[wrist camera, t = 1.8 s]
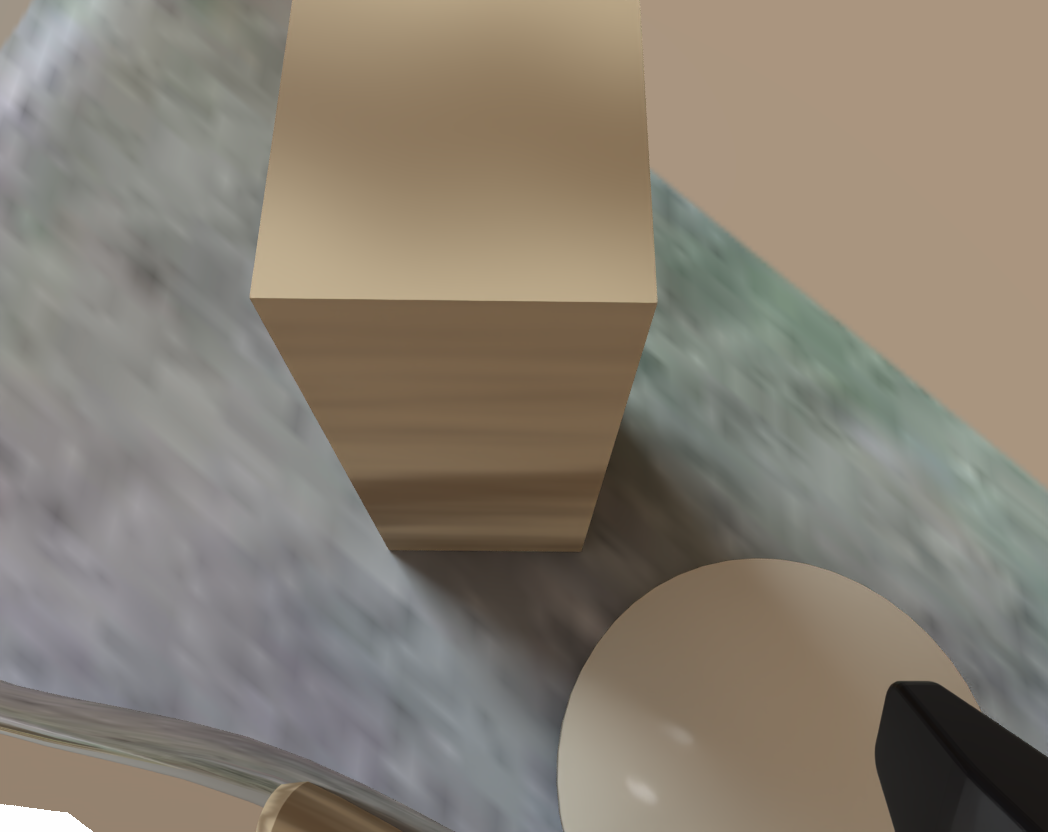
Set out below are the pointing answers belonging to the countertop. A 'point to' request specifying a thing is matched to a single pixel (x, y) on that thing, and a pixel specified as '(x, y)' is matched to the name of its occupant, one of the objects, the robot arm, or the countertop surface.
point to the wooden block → (462, 256)
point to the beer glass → (167, 776)
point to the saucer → (741, 705)
